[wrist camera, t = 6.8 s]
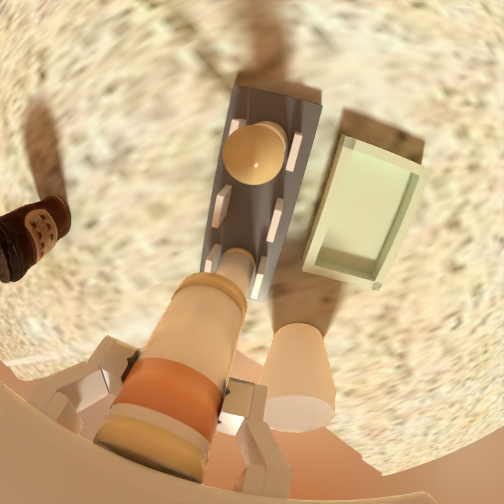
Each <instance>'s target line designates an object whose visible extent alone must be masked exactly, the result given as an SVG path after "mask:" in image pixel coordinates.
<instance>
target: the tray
mask: <svg viewBox="0 0 504 504" xmlns="http://www.w3.org/2000/svg"><path fill="white" fill-rule="evenodd" d="M430 173H431V170H430V169H428V168H426V167H424V166H422V165H420V164H418V163H416V162H414V161H412V160H409V159H407V158H405V157H402V156H400V155H398V154H395V153H393V152H390V151H388V150H385V149H383V148H380V147H378V146H375V145H372V144H370V143H367V142H364V141H361V140H359V139H356V138H353V137H350V136H347V135H344V134H341V137H340V140H339V143H338V147H337V150H336V154H335V157H334V160H333V164H332V167H331V170H330V174H329V177H328V180H327V183H326V186H325V190H324V193H323V196H322V199H321V202H320V205H319V208H318V211H317V214H316V217H315V220H314V223H313V226H312V229H311V232H310V235H309V238H308V241H307V244H306V247H305V250H304V253H303V256H302V258H301V271H303V272H307V273H311V274H315V275H319V276H322V277H326V278H330V279H334V280H338V281H342V282H345V283H349V284H353V285H357V286H361V287H365V288H369V289H372V290H376V291H379V289H380V287H381V285H382V284H383V282H384V280H385V278H386V276H387V274H388V272H389V270H390V268H391V266H392V264H393V262H394V260H395V258H396V256H397V253H398V251H399V249H400V247H401V245H402V243H403V240H404V238H405V236H406V234H407V231H408V229H409V227H410V225H411V222H412V220H413V217H414V215H415V213H416V210H417V208H418V205H419V203H420V200H421V198H422V195H423V192H424V190H425V187H426V184H427V181H428V179H429V176H430Z"/></svg>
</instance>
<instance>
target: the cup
mask: <svg viewBox="0 0 504 504" xmlns="http://www.w3.org/2000/svg"><path fill="white" fill-rule="evenodd" d="M258 384H259V385H264V386H267V388H268V391H267V398H266V405H265V412H264V419H263V422H266V423H267V424H268V426H269V428H271V429H274V430H278V431H283V432H307V431H312V430H316V429H319V428H321V427H323V426H325V425H327V424H328V423H330V422H331V421H332V419H333V418H334V415H335V394H336V391H335V385H334V381H333V377H332V373H331V368H330V364H329V360H328V356H327V352H326V349H325V345H324V341H323V337H322V334H321V333H320V331H319V330H318V329H317V328H315V327H314V326H312V325H309V324H305V323H292V324H288V325H285V326H283V327H282V328H280V329H279V330H278V331H277V332H276V333H275V335H274V338H273V341H272V344H271V347H270V350H269V353H268V356H267V359H266V362H265V365H264V368H263V371H262V374H261V377H260V379H259V382H258Z"/></svg>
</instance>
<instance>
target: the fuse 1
mask: <svg viewBox="0 0 504 504" xmlns="http://www.w3.org/2000/svg"><path fill="white" fill-rule="evenodd" d="M287 143H288V139H287V135H286V132H285V131H284V129H283V128H282V127H281V126H280V125H278V124H277V123H275V122H271V121H262V122H259V123H256V124H253V125H247V126H244V127H241V128H239V129H237V130H235V131H234V132H233V133H232V134H231V135H230V136H229V137H228V138H227V140H226V142H225V144H224V147H223V162H224V165H225V167H226V169H227V171H228V172H229V173H230V175H231V176H232V177H234V178H235V179H236V180H238V181H240V182H242V183H245V184H250V185H258V184H263V183H266V182H268V181H270V180H271V179H273V178H274V177H275V176H276V175H277V174H278V172H279V171H280V169H281V167H282V165H283V161H284V154H285V151H286V148H287Z"/></svg>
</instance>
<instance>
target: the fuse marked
mask: <svg viewBox="0 0 504 504" xmlns="http://www.w3.org/2000/svg"><path fill="white" fill-rule="evenodd" d="M246 312H247V301H246V298H245V296H244V294H243V292H242V291H241V289H240V288H239V287H238V286H237V285H236V284H235V283H234V282H232V281H231V280H229V279H228V278H226V277H224V276H221V275H218V274H215V273H209V272H200V273H195V274H192V275H190V276H188V277H186V278H185V279H184V280H183V281H182V282H181V284H180V285H179V287H178V289H177V290H176V292H175V294H174V295H173V297H172V300H171V302H170V304H169V306H168V307H167V309H166V311H165V312H164V314H163V316H162V318H161V319H160V321H159V323H158V324H157V326H156V328H155V330H154V331H153V333H152V335H151V337H150V338H149V340H148V342H147V344H146V345H145V347H144V349H143V351H142V352H141V354H140V356H139V358H138V360H137V361H136V362H135V363H134V364H133V366H132V368H131V369H130V371H129V373H128V375H127V377H126V379H125V380H124V382H123V384H122V386H121V388H120V390H119V391H118V393H117V395H116V397H115V399H114V401H113V403H112V405H111V407H110V412H109V414H108V415H107V416H106V417H105V418H104V420H103V422H102V424H101V426H100V428H99V430H98V432H97V434H96V436H95V438H94V440H93V443H94V444H96V445H98V446H100V447H102V448H104V449H107V450H109V451H111V452H113V453H115V454H117V455H119V456H122V457H124V458H126V459H129V460H131V461H133V462H136V463H138V464H141V465H143V466H146V467H149V468H151V469H154V470H157V471H160V472H163V473H166V474H169V475H172V476H175V477H178V478H181V479H185V480H188V481H192V482H195V483H199V484H202V482H203V477H204V474H205V470H206V467H207V463H208V453H209V451H210V450H211V448H212V444H213V440H214V437H215V433H216V429H217V425H218V422H219V415H220V411H221V408H222V404H223V401H224V399H223V397H224V393H225V389H226V385H227V381H228V378H229V374H230V370H231V366H232V363H233V359H234V355H235V351H236V347H237V343H238V340H239V336H240V332H241V330H242V327H243V324H244V320H245V316H246Z"/></svg>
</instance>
